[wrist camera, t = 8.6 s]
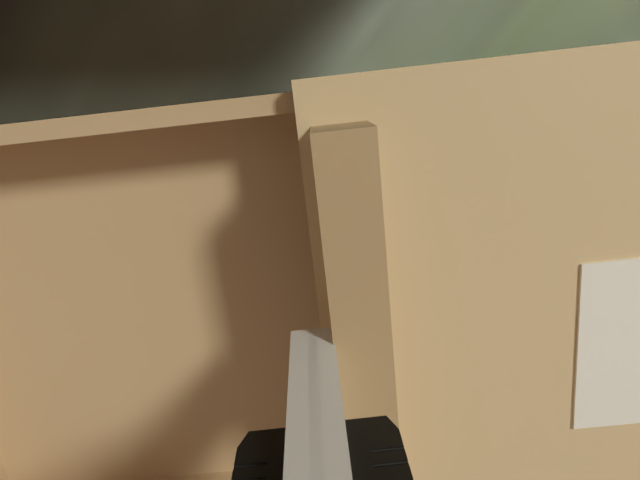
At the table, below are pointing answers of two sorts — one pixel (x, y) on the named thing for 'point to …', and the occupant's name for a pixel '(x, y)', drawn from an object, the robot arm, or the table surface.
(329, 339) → the robot arm
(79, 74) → the table surface
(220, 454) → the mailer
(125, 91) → the table surface
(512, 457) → the lid
